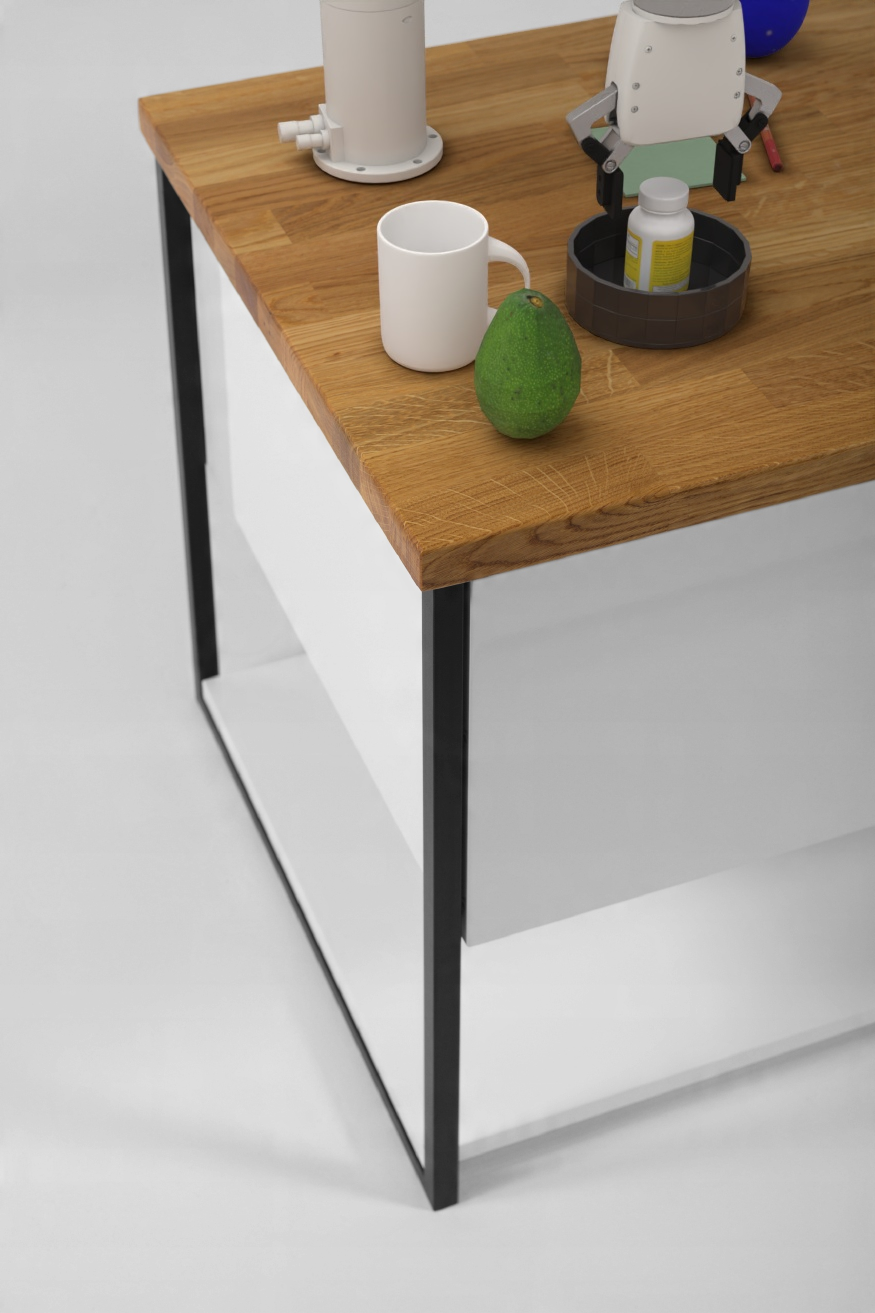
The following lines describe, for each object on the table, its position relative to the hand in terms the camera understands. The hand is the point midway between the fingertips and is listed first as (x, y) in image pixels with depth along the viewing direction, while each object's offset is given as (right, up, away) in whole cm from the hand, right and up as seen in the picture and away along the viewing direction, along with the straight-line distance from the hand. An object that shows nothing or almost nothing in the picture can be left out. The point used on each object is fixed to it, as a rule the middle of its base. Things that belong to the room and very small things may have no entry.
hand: (667, 202), depth 131 cm
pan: (0, -6, +6) cm, 9 cm away
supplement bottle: (0, -6, +6) cm, 9 cm away
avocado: (-12, -19, -7) cm, 24 cm away
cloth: (+3, +12, +26) cm, 29 cm away
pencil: (+14, +16, +31) cm, 37 cm away
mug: (-17, -11, +2) cm, 21 cm away
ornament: (+15, +28, +44) cm, 54 cm away
